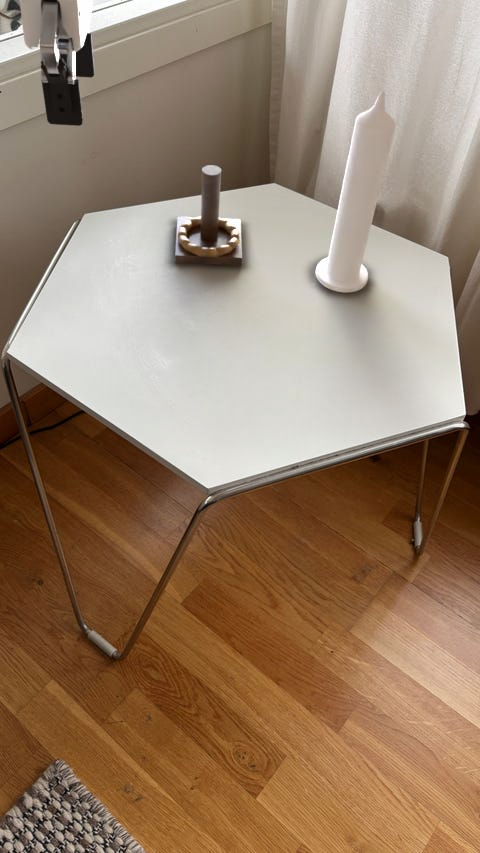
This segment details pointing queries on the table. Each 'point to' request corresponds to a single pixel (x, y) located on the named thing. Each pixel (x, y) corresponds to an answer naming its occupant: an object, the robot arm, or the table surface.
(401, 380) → the table surface
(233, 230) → the ring
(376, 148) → the candle
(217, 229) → the post
